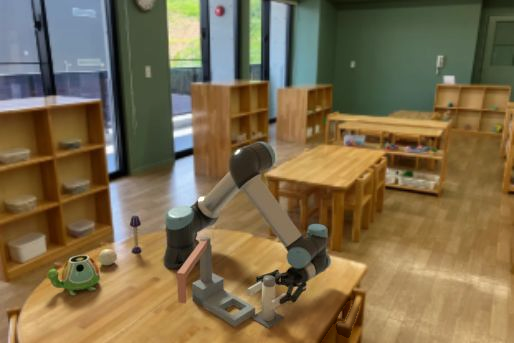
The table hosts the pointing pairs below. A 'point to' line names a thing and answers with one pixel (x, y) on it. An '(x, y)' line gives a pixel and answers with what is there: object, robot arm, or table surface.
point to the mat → (267, 323)
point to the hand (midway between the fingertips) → (259, 298)
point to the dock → (217, 293)
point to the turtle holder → (76, 274)
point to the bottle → (268, 298)
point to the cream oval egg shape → (107, 257)
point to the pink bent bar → (190, 267)
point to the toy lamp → (135, 233)
